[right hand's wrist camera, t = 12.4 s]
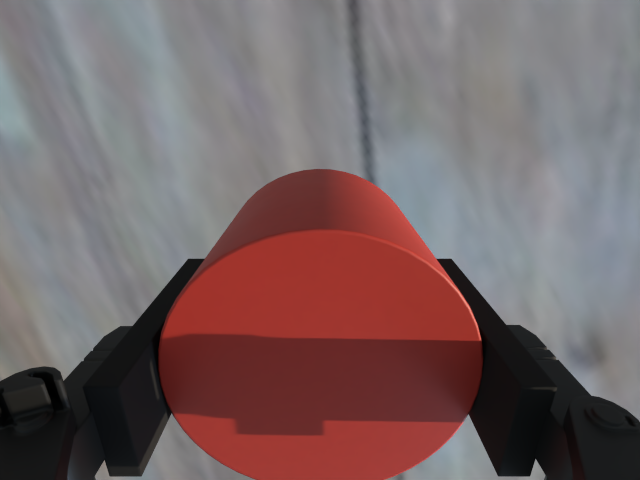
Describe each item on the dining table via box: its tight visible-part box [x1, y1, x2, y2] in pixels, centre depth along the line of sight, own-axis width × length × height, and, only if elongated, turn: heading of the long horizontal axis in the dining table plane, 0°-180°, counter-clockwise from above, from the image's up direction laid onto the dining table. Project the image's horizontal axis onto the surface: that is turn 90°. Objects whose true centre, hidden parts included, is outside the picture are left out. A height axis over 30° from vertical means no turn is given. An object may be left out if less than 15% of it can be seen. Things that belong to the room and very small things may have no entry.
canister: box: [158, 169, 483, 480], centre depth 13 cm, size 8×8×8 cm
